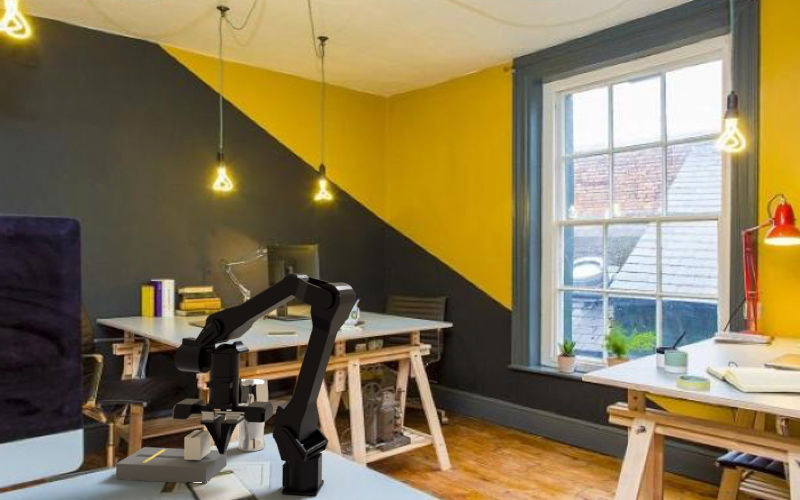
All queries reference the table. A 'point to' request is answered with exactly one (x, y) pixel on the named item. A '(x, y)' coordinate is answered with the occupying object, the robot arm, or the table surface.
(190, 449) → the fader tab
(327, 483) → the table surface
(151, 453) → the fader console
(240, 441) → the beer glass
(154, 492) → the table surface
